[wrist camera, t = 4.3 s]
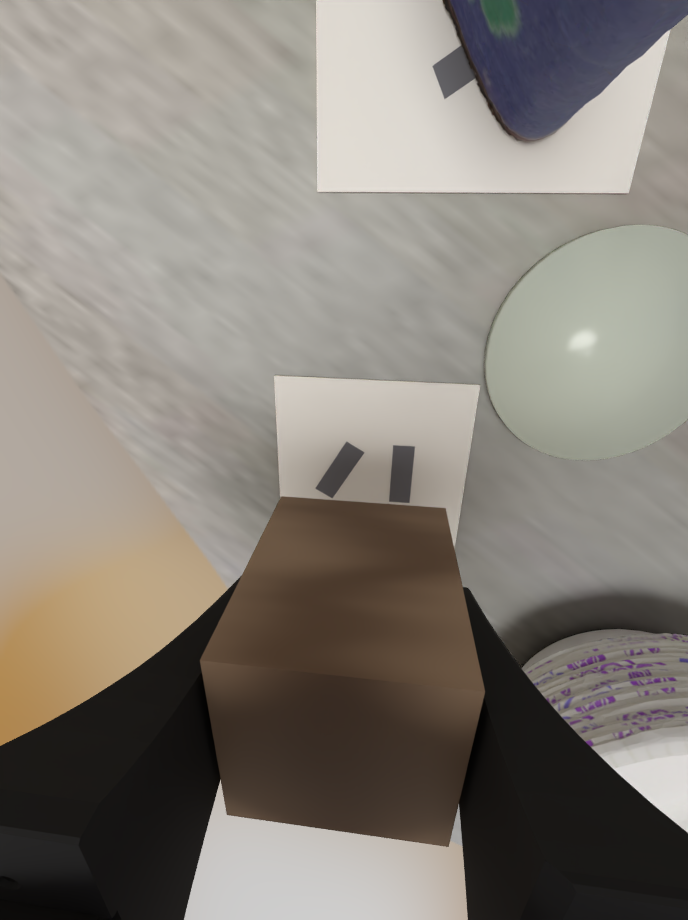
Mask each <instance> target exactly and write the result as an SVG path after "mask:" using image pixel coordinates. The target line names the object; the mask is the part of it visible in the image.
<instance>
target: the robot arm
mask: <svg viewBox="0 0 688 920" xmlns="http://www.w3.org/2000/svg"><path fill="white" fill-rule="evenodd" d="M240 578H241V577H240ZM240 578H239V579H238V580H237V581H236V582H235V583H234V584H233V585H232V586H231V587H230V588H229V589H228V590H227V591H226V592H225V593H224V594H223V595H222V596H221V597H220V598H219V599H218V600H217V601H216V602H215V603H214V604H213V605H212V606H211V607H210V608H208V609H207V610H206V611H205V612H204V613H203V614H202V615H201V616H200V617H199V618H198V619H197V620H196V621H195V622H193V623H192V624H191V625H190V626H189V627H188V628H187V629H185V630H184V631H183V632H182V633H181V634H180V635H178V636H177V637H176V638H175V639H174V640H173V641H171V642H170V643H169V644H168V645H166V646H165V647H164V648H163V649H162V650H160V651H159V652H158V653H156V654H155V655H154V656H152V657H151V658H150V659H148V660H147V661H146V662H144V663H143V664H142V665H140V666H139V667H137V668H136V669H135V670H133V671H132V672H130V673H129V674H127V675H126V676H124V677H123V678H121V679H120V680H118V681H117V682H115V683H113V684H112V685H111V686H109V687H107V688H106V689H104V690H103V691H101V692H100V693H98V694H96V695H95V696H93V697H91V698H90V699H88V700H87V701H85V702H83V703H81V704H80V705H78V706H76V707H74V708H73V709H71V710H69V711H67V712H66V713H64V714H62V715H60V716H59V717H57V718H55V719H53V720H51V721H49V722H47V723H46V724H44V725H42V726H40V727H38V728H36V729H34V730H32V731H30V732H28V733H26V734H24V735H22V736H20V737H18V738H16V739H14V740H12V741H10V742H7V743H5V744H3V745H2V746H0V920H184V916H185V912H186V908H187V904H188V900H189V895H190V892H191V888H192V883H193V880H194V876H195V872H196V868H197V864H198V860H199V856H200V853H201V848H202V845H203V841H204V837H205V833H206V830H207V826H208V822H209V819H210V815H211V811H212V808H213V804H214V801H215V797H216V793H217V789H218V786H219V783H220V779H221V778H220V773H219V767H218V761H217V755H216V750H215V744H214V738H213V733H212V727H211V721H210V716H209V710H208V704H207V699H206V693H205V687H204V681H203V676H202V670H201V664H200V659H201V657H202V655H203V653H204V651H205V649H206V647H207V645H208V643H209V641H210V639H211V637H212V635H213V633H214V631H215V629H216V627H217V625H218V623H219V621H220V619H221V617H222V615H223V613H224V611H225V609H226V607H227V605H228V603H229V601H230V599H231V597H232V595H233V593H234V591H235V589H236V587H237V585H238V582H239V580H240ZM463 591H464V596H465V601H466V605H467V610H468V615H469V619H470V624H471V629H472V633H473V638H474V643H475V647H476V652H477V657H478V661H479V666H480V670H481V675H482V680H483V684H484V689H485V694H484V699H483V703H482V707H481V711H480V716H479V720H478V724H477V728H476V732H475V737H474V741H473V745H472V749H471V754H470V758H469V762H468V766H467V771H466V775H465V779H464V783H463V788H462V792H461V796H460V800H459V808H460V820H461V832H462V844H463V857H464V869H465V883H466V898H467V912H468V920H688V833H687V832H686V831H685V830H684V829H682V828H681V827H680V826H679V825H678V824H676V823H675V822H674V821H673V820H671V819H670V818H669V817H668V816H666V815H665V814H664V813H663V812H662V811H660V810H659V809H658V808H657V807H655V806H654V805H653V804H652V803H651V802H650V801H648V800H647V799H646V798H645V797H644V796H643V795H642V794H641V793H639V792H638V791H637V790H636V789H635V788H634V787H633V786H632V785H630V784H629V783H628V782H627V781H626V780H625V779H624V778H623V777H621V776H620V775H619V774H618V773H617V772H616V771H615V770H614V769H613V768H612V767H611V766H610V765H609V764H608V763H607V762H606V761H605V760H604V759H603V758H602V757H601V756H600V755H598V754H597V753H596V752H595V751H594V750H593V749H592V748H591V747H590V746H589V745H588V744H587V743H586V742H585V741H584V740H583V739H582V738H581V737H580V736H579V735H578V734H577V733H576V732H575V731H574V730H573V728H572V727H571V726H570V725H569V724H568V723H567V722H566V721H565V720H564V719H563V718H562V717H561V716H560V714H559V713H558V712H557V711H556V710H555V709H554V708H553V706H552V705H551V704H550V703H549V702H548V701H547V700H546V698H545V697H544V696H543V695H542V694H541V692H540V691H539V690H538V689H537V688H536V686H535V685H534V684H533V683H532V681H531V680H530V679H529V678H528V676H527V675H526V674H525V672H524V671H523V670H522V669H521V667H520V666H519V665H518V663H517V662H516V660H515V659H514V658H513V656H512V655H511V654H510V652H509V651H508V649H507V648H506V646H505V645H504V644H503V642H502V641H501V639H500V638H499V636H498V635H497V633H496V632H495V630H494V629H493V627H492V626H491V624H490V623H489V621H488V620H487V618H486V616H485V615H484V613H483V612H482V610H481V608H480V607H479V605H478V603H477V602H476V600H475V598H474V596H473V595H472V593H471V591H470V590H469V589H468V588H466V587H463Z"/></svg>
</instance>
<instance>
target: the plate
mask: <svg viewBox="0 0 688 920" xmlns="http://www.w3.org/2000/svg"><path fill="white" fill-rule="evenodd" d="M484 370H485V381H486V386H487V391H488V394H489V397H490V400H491V402H492V404H493V406H494V408H495V410H496V412H497V414H498V415H499V416H500V418H501V419H502V421H503V422H504V423H505V425H506V426H507V427H508V429H509V430H510V431H511V432H512V433H513V434H514V435H515V436H516V437H517V438H519V439H520V440H521V441H523V442H524V443H525V444H527V445H529V446H530V447H532V448H534V449H536V450H538V451H540V452H543V453H545V454H548V455H550V456H554V457H558V458H562V459H570V460H601V459H608V458H613V457H618V456H622V455H625V454H628V453H631V452H634V451H637V450H639V449H642V448H644V447H646V446H648V445H651V444H652V443H654V442H656V441H658V440H660V439H661V438H663V437H665V436H666V435H668V434H669V433H671V432H672V431H674V430H675V429H677V428H678V427H679V426H680V425H682V424H683V423H684V422H685V421H686V420H687V419H688V235H687V234H685V233H682V232H680V231H677V230H674V229H670V228H666V227H661V226H652V225H628V226H620V227H615V228H610V229H605V230H600V231H596V232H593V233H590V234H587V235H584V236H581V237H579V238H576V239H574V240H572V241H570V242H568V243H566V244H564V245H562V246H560V247H559V248H557V249H556V250H554V251H552V252H551V253H549V254H548V255H546V256H545V257H544V258H543V259H541V260H540V261H539V262H537V263H536V264H535V265H534V266H533V267H532V268H531V269H530V270H529V271H528V272H527V273H525V274H524V275H523V276H522V277H521V279H520V280H519V281H518V282H517V283H516V285H515V286H514V287H513V288H512V290H511V291H510V292H509V294H508V295H507V297H506V298H505V300H504V301H503V303H502V305H501V306H500V308H499V310H498V312H497V314H496V317H495V319H494V321H493V324H492V327H491V329H490V332H489V335H488V340H487V344H486V349H485V360H484Z"/></svg>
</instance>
